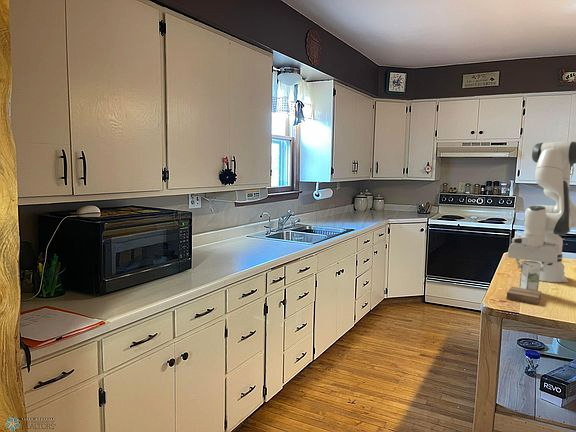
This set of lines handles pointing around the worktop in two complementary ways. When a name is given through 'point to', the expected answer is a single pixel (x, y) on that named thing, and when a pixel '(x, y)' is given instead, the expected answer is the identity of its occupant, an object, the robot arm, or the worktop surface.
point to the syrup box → (530, 275)
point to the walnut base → (524, 295)
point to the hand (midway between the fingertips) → (530, 269)
